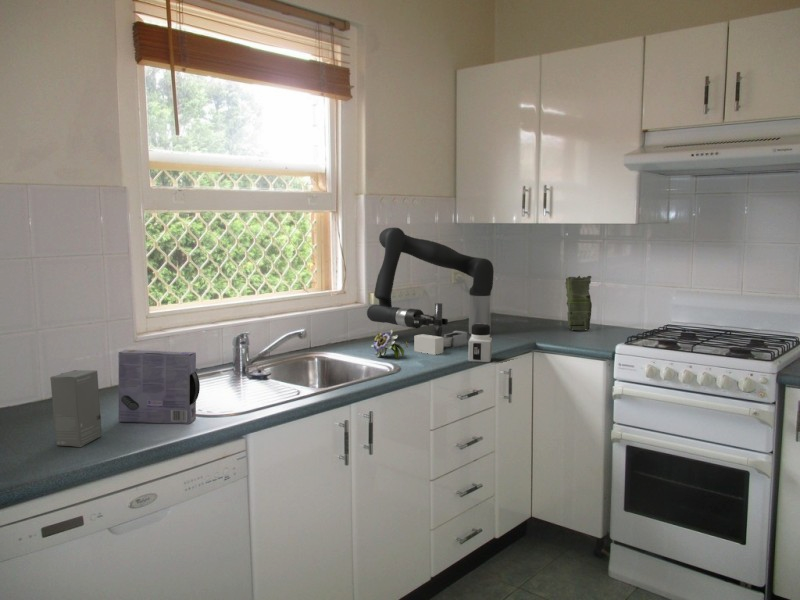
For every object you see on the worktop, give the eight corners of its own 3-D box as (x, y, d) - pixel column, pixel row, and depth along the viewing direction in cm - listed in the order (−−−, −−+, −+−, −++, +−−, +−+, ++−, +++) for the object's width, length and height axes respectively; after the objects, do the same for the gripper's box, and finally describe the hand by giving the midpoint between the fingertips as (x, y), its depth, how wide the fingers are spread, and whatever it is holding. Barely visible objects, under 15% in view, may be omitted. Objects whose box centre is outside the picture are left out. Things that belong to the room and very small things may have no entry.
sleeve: (457, 343, 270) (457, 330, 270) (467, 344, 267) (467, 331, 266) (443, 346, 264) (443, 333, 263) (454, 348, 260) (454, 334, 260)
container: (490, 362, 235) (491, 326, 233) (468, 361, 236) (468, 325, 235) (491, 358, 242) (492, 322, 241) (470, 357, 244) (471, 322, 242)
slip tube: (449, 343, 265) (450, 300, 263) (456, 344, 263) (457, 301, 261) (425, 349, 253) (425, 304, 251) (432, 350, 251) (432, 305, 249)
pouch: (562, 330, 301) (565, 276, 298) (567, 327, 312) (569, 273, 309) (588, 332, 297) (590, 277, 294) (591, 328, 308) (593, 274, 305)
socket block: (422, 349, 257) (422, 334, 257) (443, 352, 251) (443, 337, 250) (414, 351, 254) (414, 335, 253) (435, 354, 247) (435, 339, 246)
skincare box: (80, 448, 146) (77, 377, 144) (51, 446, 147) (47, 376, 145) (104, 435, 154) (101, 369, 152) (76, 433, 156) (72, 367, 154)
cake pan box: (201, 418, 168) (199, 349, 166) (194, 424, 163) (192, 354, 161) (126, 417, 169) (123, 348, 167) (117, 423, 164) (114, 352, 162)
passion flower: (379, 372, 243) (363, 344, 245) (400, 362, 250) (384, 335, 252) (394, 359, 235) (377, 330, 237) (416, 349, 242) (399, 321, 244)
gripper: (398, 310, 259) (433, 314, 247) (420, 306, 269) (455, 310, 258) (398, 329, 260) (433, 334, 248) (420, 324, 270) (455, 329, 259)
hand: (444, 322), depth 253 cm, fingers closed on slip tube, 3 cm apart
